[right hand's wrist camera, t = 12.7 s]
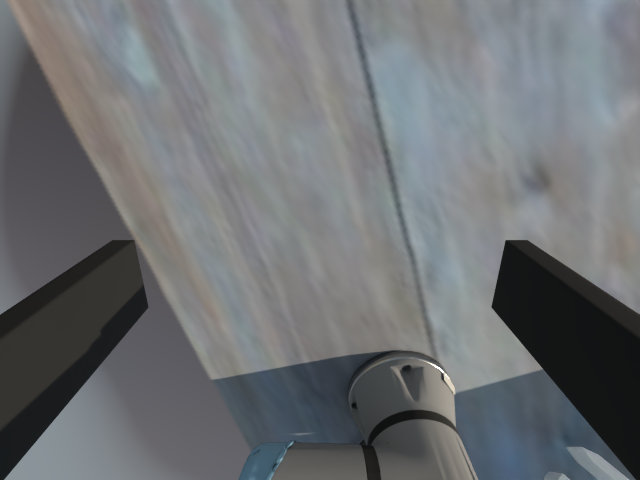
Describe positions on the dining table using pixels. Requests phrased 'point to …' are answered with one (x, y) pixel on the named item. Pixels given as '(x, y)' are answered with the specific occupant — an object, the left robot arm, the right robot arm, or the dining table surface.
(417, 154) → the dining table surface
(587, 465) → the white plastic object
